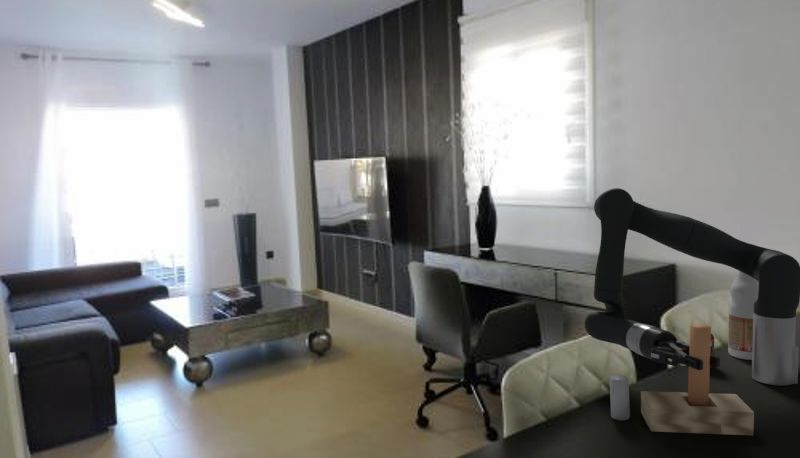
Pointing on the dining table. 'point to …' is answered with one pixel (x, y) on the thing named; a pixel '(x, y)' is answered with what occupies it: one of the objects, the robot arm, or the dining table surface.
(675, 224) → the robot arm
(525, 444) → the dining table surface
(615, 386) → the short dowel
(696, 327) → the long dowel
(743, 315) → the white plastic bottle
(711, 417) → the wooden block with hole
